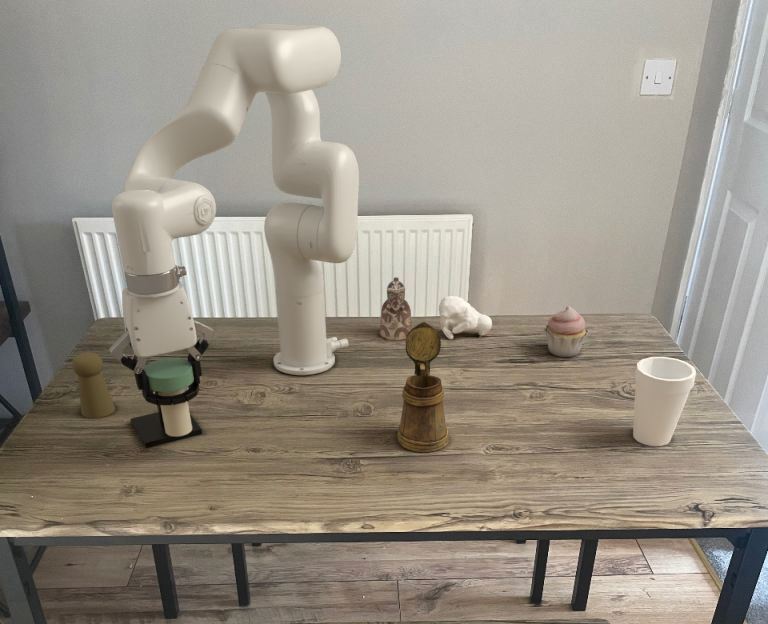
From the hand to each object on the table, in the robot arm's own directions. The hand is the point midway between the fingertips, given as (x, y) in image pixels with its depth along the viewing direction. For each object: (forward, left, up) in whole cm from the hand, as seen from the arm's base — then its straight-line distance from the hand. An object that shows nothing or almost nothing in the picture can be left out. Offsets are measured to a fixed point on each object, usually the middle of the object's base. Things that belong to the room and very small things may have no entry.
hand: (170, 386), depth 130 cm
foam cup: (-73, +36, -12) cm, 82 cm away
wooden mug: (-39, +15, -12) cm, 44 cm away
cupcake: (-83, 0, -12) cm, 84 cm away
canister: (0, 0, -8) cm, 8 cm away
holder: (0, -5, -12) cm, 13 cm away
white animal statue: (-70, -18, -12) cm, 73 cm away
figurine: (-57, -26, -12) cm, 64 cm away
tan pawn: (+9, -22, -12) cm, 27 cm away
